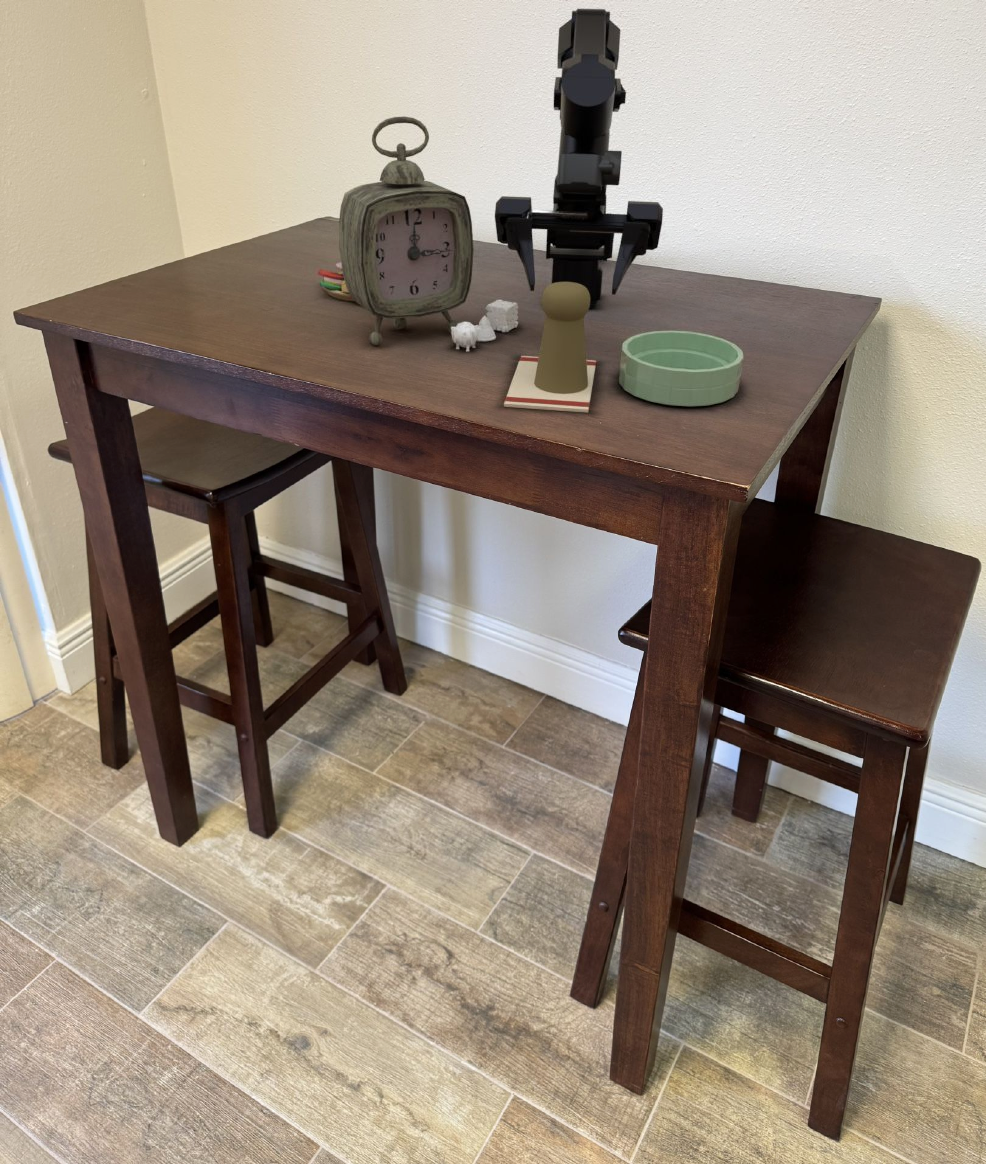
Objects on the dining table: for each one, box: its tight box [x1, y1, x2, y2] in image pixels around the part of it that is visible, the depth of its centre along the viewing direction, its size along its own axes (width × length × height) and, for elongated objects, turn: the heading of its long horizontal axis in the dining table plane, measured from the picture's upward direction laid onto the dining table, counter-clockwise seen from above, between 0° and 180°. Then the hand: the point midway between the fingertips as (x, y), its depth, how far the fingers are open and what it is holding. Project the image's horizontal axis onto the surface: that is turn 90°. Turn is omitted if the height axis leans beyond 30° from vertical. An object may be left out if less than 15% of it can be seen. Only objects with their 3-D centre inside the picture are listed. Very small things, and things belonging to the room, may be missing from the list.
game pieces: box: [450, 299, 520, 352], centre depth 118 cm, size 12×3×3 cm, turn 149°
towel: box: [503, 355, 597, 414], centre depth 106 cm, size 9×15×1 cm, turn 172°
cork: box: [534, 282, 590, 394], centre depth 102 cm, size 6×6×11 cm
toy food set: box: [317, 261, 357, 303], centre depth 134 cm, size 13×13×3 cm
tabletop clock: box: [338, 116, 475, 346], centre depth 113 cm, size 14×9×25 cm, turn 117°
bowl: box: [618, 330, 745, 407], centre depth 105 cm, size 13×13×4 cm
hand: (572, 290), depth 106 cm, fingers open, 9 cm apart
